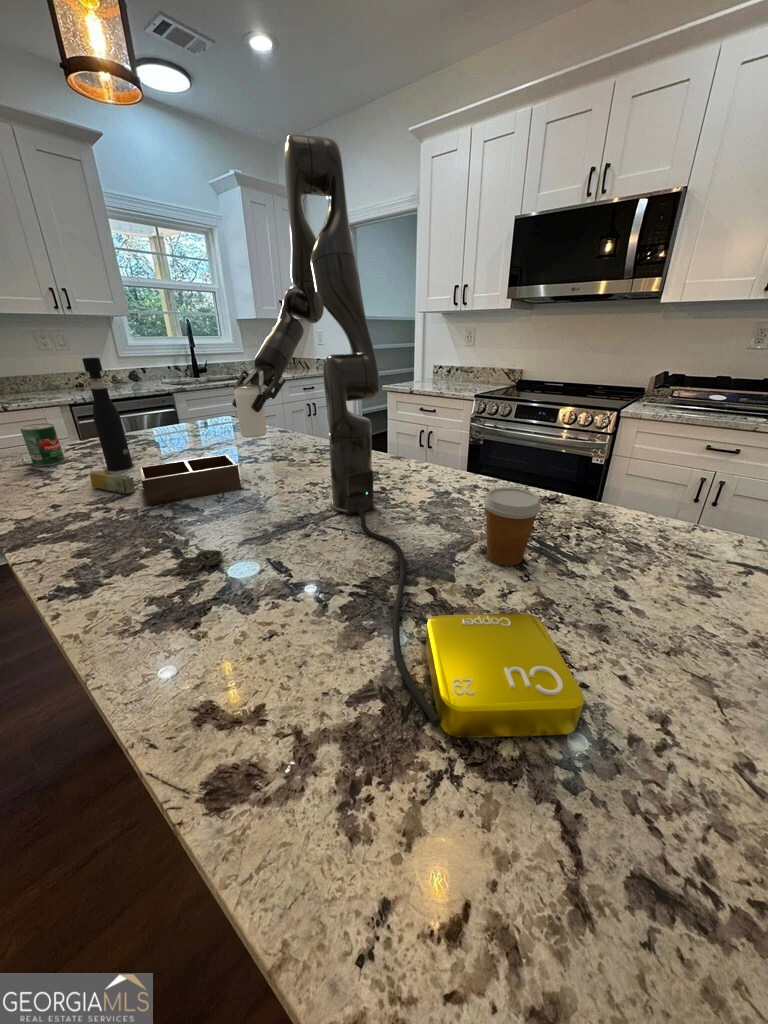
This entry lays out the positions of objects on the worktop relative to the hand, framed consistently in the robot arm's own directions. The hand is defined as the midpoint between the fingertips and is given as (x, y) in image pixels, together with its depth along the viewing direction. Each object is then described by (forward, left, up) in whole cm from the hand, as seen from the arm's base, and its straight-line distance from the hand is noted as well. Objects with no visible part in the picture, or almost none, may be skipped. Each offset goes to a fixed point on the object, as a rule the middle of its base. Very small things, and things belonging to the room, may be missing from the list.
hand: (245, 408), depth 102 cm
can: (+1, -1, -7) cm, 7 cm away
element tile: (-82, -5, -20) cm, 84 cm away
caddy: (+3, +15, -20) cm, 25 cm away
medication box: (+13, +32, -20) cm, 40 cm away
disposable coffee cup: (-62, -28, -20) cm, 71 cm away
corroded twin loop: (-36, +20, -20) cm, 45 cm away
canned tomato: (+49, +48, -20) cm, 71 cm away
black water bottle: (+33, +30, -20) cm, 49 cm away
